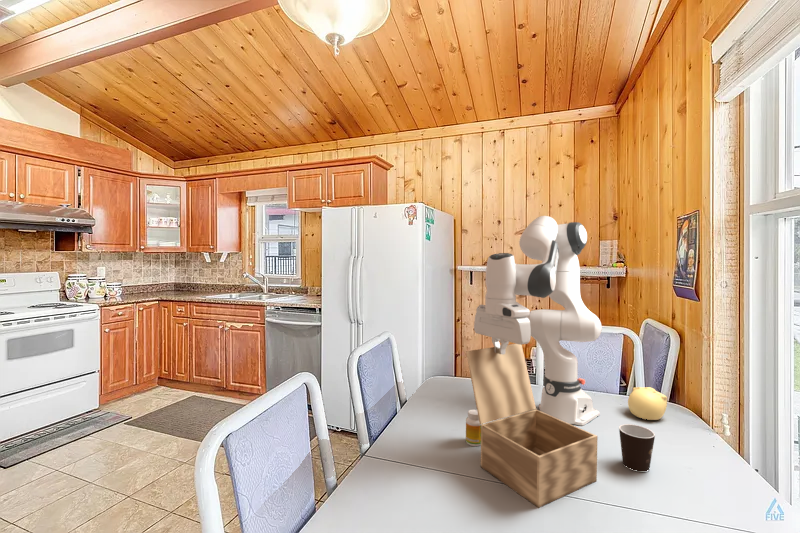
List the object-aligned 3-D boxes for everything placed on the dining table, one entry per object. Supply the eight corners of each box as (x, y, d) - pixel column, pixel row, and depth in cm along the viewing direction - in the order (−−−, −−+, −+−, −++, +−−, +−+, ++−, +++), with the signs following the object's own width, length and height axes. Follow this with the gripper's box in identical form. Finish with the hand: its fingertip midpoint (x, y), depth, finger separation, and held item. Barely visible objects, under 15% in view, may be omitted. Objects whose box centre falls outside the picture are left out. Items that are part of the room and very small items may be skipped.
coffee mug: (642, 477, 103) (643, 440, 103) (611, 462, 111) (612, 427, 111) (667, 467, 109) (668, 431, 108) (636, 453, 116) (637, 420, 116)
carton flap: (536, 408, 119) (534, 408, 119) (521, 342, 124) (519, 343, 124) (481, 424, 108) (479, 423, 108) (467, 351, 113) (465, 351, 113)
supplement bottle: (483, 447, 119) (483, 416, 119) (465, 445, 120) (465, 414, 120) (482, 439, 125) (483, 409, 124) (465, 437, 126) (466, 408, 125)
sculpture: (671, 418, 141) (671, 389, 141) (656, 426, 134) (657, 395, 134) (637, 408, 151) (638, 380, 150) (621, 415, 144) (622, 386, 143)
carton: (535, 448, 119) (536, 409, 119) (596, 481, 102) (597, 435, 101) (480, 467, 108) (481, 424, 108) (538, 508, 91) (539, 457, 90)
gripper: (469, 304, 124) (469, 347, 124) (518, 312, 106) (517, 362, 106) (484, 303, 127) (484, 345, 127) (534, 311, 109) (533, 359, 109)
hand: (499, 353), depth 116 cm, fingers closed
